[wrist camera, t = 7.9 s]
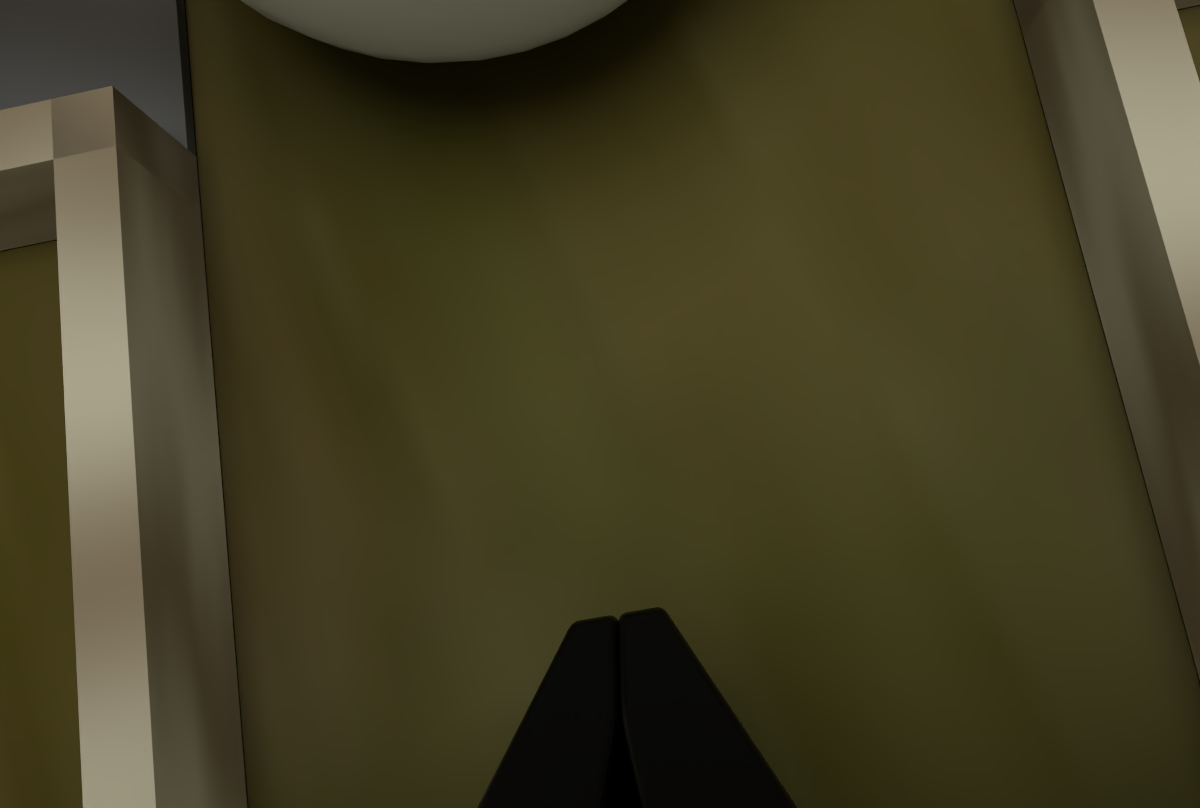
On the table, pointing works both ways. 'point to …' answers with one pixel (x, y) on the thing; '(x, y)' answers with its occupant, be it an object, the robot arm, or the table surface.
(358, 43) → the lidded jar
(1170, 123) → the trap lane
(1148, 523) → the table surface
